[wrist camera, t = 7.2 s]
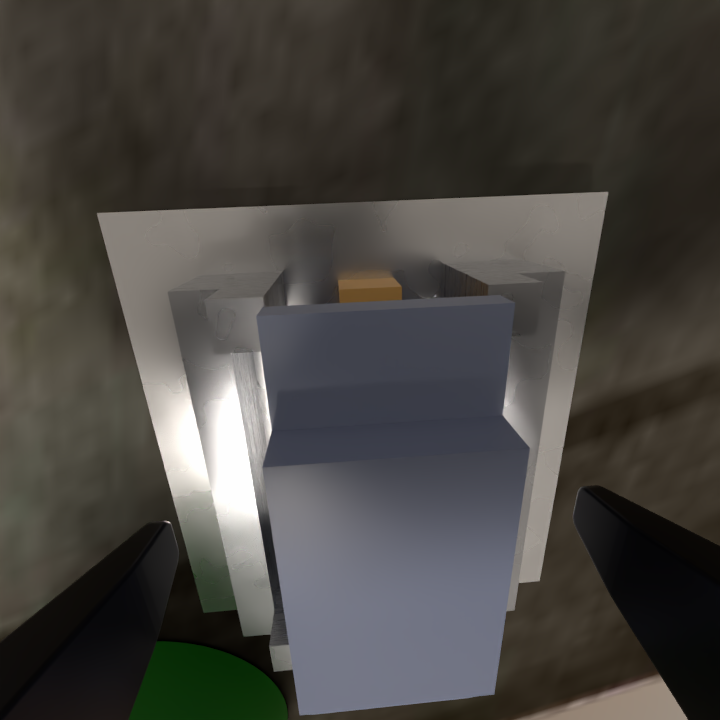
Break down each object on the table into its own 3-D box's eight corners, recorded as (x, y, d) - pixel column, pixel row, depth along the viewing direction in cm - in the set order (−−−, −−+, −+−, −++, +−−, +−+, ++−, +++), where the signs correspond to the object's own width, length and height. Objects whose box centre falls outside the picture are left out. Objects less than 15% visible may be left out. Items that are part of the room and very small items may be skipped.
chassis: (583, 193, 10) (725, 184, 7) (526, 557, 15) (591, 672, 11) (119, 212, 10) (-12, 214, 6) (211, 586, 14) (170, 717, 11)
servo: (444, 267, 10) (548, 319, 5) (431, 562, 13) (486, 749, 9) (284, 275, 10) (242, 337, 5) (315, 572, 13) (308, 769, 9)
